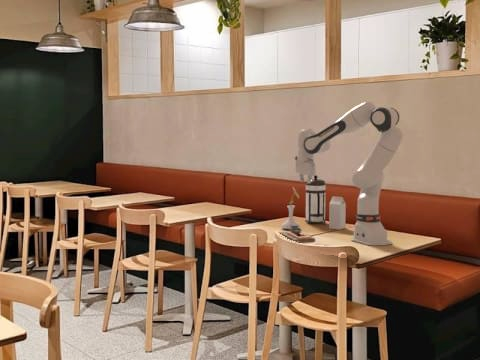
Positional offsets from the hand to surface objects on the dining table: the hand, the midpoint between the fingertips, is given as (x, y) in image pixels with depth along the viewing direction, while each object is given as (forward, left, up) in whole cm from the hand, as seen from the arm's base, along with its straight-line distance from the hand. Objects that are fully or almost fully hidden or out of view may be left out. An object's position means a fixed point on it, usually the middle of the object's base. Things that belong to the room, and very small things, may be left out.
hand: (305, 182), depth 336 cm
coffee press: (+29, -20, -29) cm, 46 cm away
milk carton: (+8, -24, -29) cm, 39 cm away
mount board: (-11, +10, -29) cm, 33 cm away
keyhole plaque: (-14, +10, -28) cm, 32 cm away
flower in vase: (+16, +2, -29) cm, 33 cm away
